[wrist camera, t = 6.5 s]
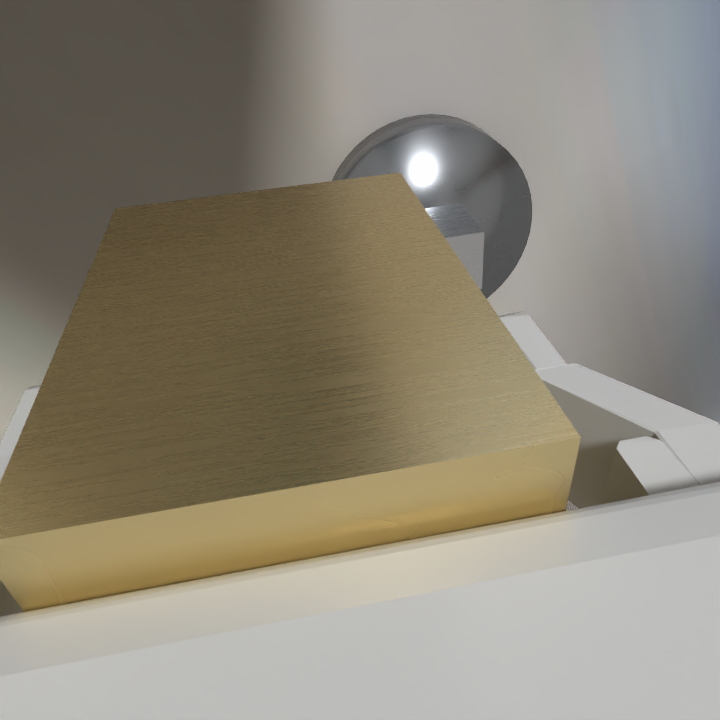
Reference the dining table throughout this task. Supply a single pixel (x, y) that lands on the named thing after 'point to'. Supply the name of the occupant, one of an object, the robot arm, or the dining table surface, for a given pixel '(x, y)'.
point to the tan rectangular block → (272, 398)
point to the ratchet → (456, 188)
